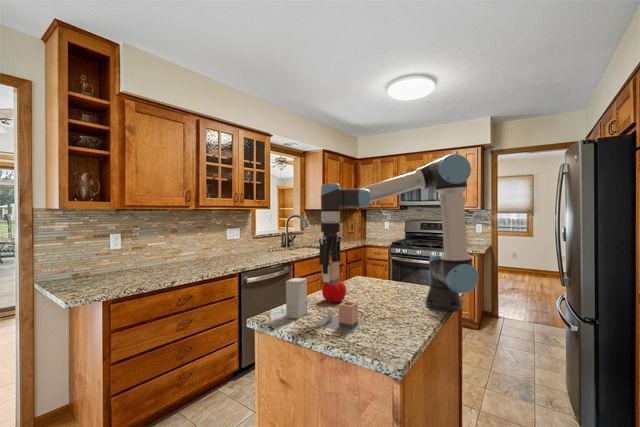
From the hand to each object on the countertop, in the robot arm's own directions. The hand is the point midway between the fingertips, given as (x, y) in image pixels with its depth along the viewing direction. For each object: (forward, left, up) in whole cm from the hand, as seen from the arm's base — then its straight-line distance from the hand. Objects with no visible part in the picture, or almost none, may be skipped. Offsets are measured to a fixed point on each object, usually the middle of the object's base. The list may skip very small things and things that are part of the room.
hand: (330, 280), depth 123 cm
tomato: (+10, -21, -15) cm, 28 cm away
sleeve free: (0, 0, -1) cm, 1 cm away
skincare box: (+14, +4, -15) cm, 21 cm away
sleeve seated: (-10, +5, -14) cm, 19 cm away
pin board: (-6, +5, -15) cm, 17 cm away
